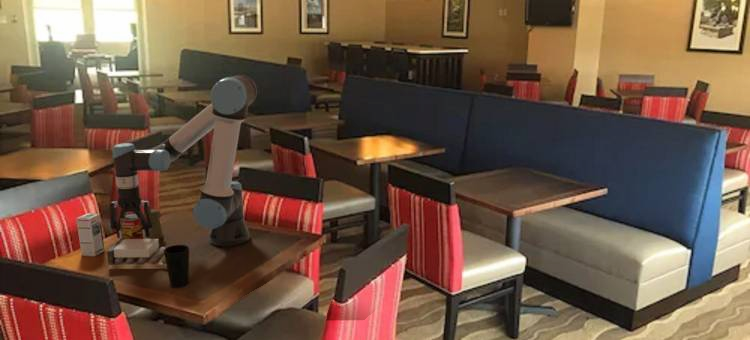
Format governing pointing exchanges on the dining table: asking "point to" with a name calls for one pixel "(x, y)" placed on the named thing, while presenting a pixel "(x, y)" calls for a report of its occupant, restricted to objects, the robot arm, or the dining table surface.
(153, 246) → the slab
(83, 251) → the syrup box
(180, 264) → the cup
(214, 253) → the dining table surface
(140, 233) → the canned food
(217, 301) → the dining table surface
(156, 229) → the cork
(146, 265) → the roller bed
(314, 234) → the dining table surface
